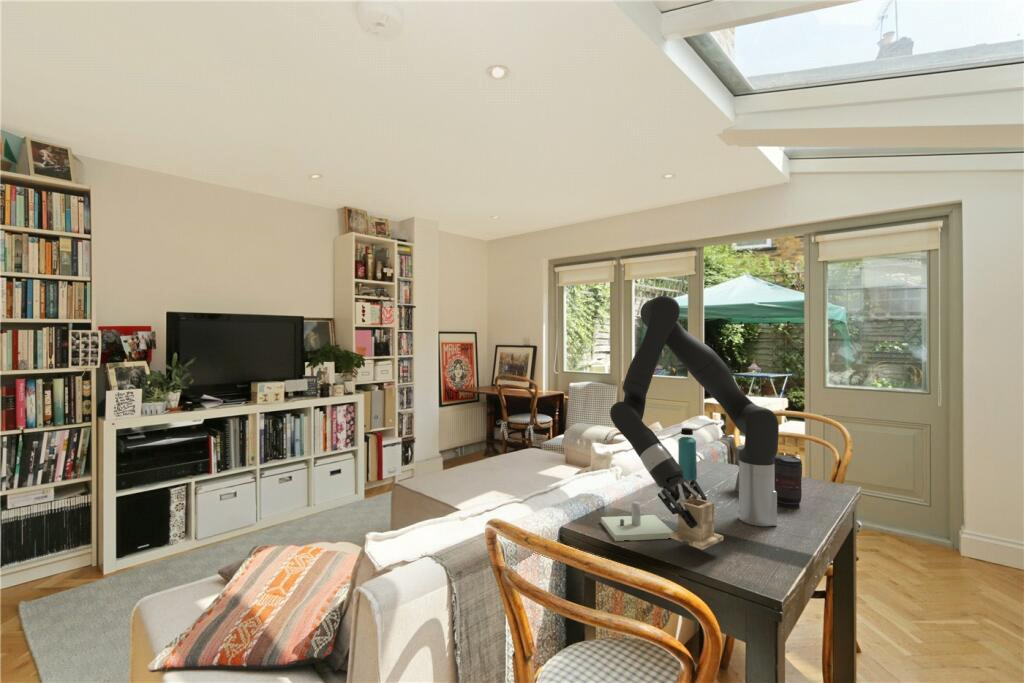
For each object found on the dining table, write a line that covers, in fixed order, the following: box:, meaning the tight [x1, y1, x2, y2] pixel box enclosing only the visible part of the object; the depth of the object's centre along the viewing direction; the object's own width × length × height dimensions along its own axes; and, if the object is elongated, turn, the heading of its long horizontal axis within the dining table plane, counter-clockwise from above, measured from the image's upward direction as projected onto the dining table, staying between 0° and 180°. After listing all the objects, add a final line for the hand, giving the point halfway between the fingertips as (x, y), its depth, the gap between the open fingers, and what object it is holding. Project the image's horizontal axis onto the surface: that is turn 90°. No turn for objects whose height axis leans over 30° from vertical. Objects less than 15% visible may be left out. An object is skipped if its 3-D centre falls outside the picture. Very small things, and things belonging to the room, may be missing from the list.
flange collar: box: [669, 496, 724, 551], centre depth 118 cm, size 9×9×9 cm
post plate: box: [600, 501, 674, 542], centre depth 132 cm, size 16×13×8 cm
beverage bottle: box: [677, 427, 698, 482], centre depth 176 cm, size 6×7×20 cm
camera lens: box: [775, 454, 803, 509], centre depth 152 cm, size 8×8×15 cm
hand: (702, 523), depth 117 cm, fingers closed on flange collar, 6 cm apart
